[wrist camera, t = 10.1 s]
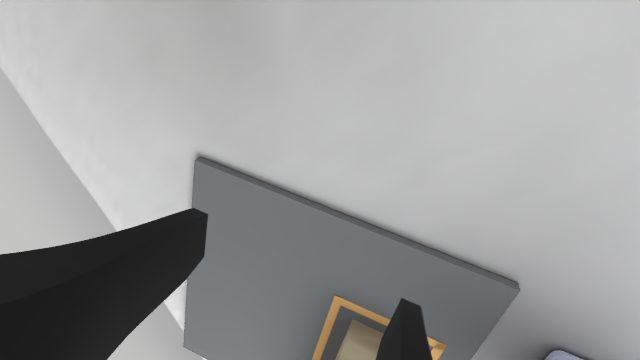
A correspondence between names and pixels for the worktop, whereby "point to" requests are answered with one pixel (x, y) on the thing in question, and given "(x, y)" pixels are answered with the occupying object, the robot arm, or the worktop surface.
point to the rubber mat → (319, 278)
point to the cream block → (360, 343)
